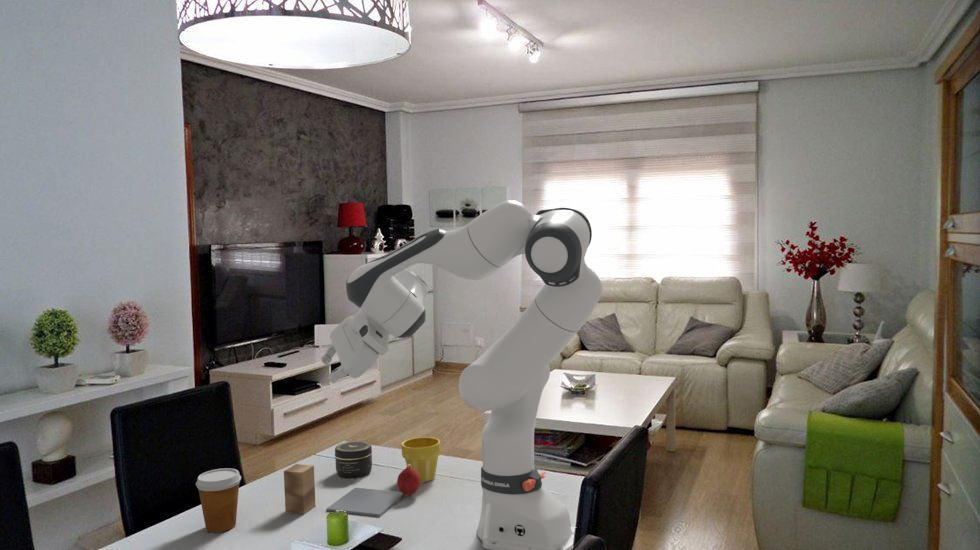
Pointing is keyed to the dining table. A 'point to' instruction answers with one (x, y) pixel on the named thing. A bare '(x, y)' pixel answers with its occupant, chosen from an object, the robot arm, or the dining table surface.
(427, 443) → the plant pot
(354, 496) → the slate coaster
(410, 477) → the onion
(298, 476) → the walnut block
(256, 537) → the dining table surface
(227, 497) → the disposable coffee cup
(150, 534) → the dining table surface
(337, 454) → the jar
